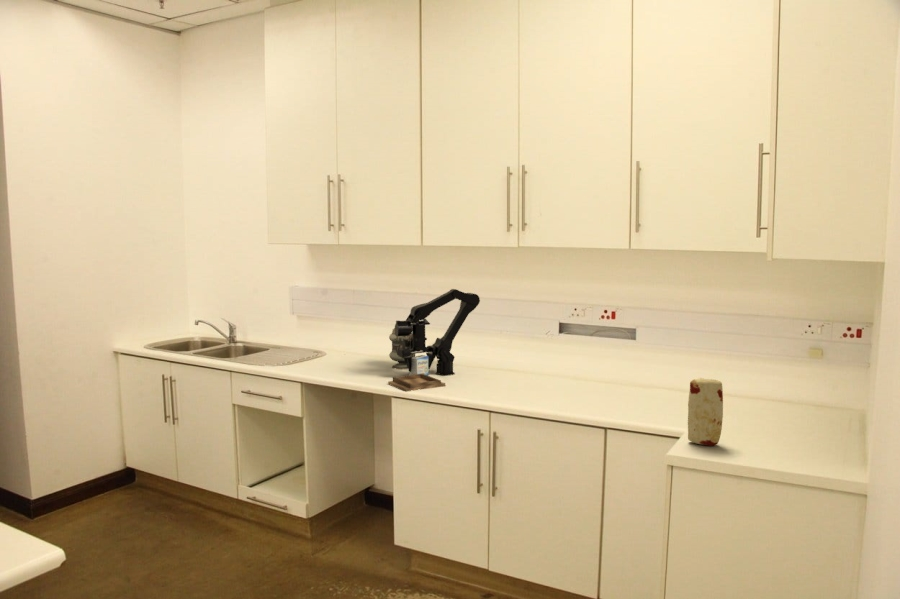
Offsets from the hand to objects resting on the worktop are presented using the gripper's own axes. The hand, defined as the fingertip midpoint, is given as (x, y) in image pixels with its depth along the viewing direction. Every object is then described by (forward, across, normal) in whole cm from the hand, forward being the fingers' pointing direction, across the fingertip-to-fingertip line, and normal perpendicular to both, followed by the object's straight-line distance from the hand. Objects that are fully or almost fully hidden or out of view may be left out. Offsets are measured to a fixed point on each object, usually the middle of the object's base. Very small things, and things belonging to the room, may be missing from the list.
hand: (419, 370), depth 307 cm
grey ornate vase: (+3, -3, -22) cm, 22 cm away
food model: (+3, -26, +130) cm, 133 cm away
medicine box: (+3, 0, 0) cm, 3 cm away
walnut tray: (+2, +9, +14) cm, 17 cm away
